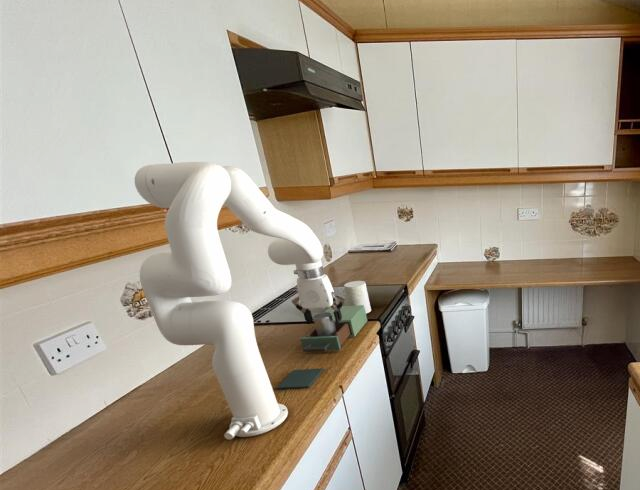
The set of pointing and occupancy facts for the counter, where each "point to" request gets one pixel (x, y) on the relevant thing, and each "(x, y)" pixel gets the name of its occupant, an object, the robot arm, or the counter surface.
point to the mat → (300, 379)
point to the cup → (357, 294)
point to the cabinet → (352, 317)
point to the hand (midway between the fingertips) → (324, 321)
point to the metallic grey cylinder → (324, 324)
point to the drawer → (326, 339)
